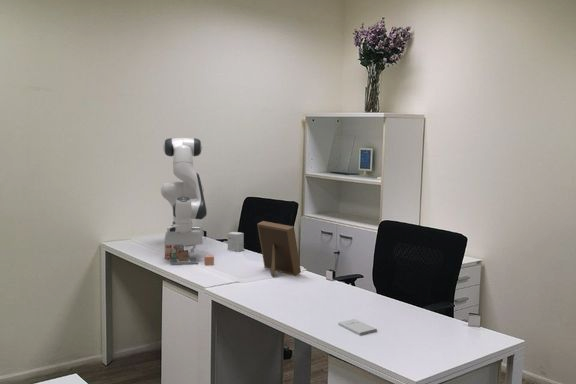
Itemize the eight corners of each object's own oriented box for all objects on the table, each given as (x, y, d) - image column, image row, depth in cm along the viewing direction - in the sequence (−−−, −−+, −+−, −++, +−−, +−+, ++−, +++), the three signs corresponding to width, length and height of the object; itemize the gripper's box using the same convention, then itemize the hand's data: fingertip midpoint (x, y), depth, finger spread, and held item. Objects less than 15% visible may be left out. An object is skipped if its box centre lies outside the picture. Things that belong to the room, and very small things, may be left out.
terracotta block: (204, 263, 298) (204, 255, 297) (212, 263, 299) (213, 255, 298) (205, 265, 293) (205, 257, 293) (213, 265, 295) (213, 256, 294)
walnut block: (178, 259, 302) (178, 250, 302) (188, 259, 304) (188, 250, 303) (179, 261, 298) (179, 252, 297) (188, 261, 299) (188, 252, 298)
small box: (243, 250, 332) (244, 233, 331) (238, 252, 327) (238, 234, 326) (233, 248, 336) (233, 231, 335) (227, 250, 331) (227, 232, 330)
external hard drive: (359, 337, 197) (338, 326, 208) (377, 332, 202) (355, 322, 212) (359, 332, 197) (338, 322, 207) (377, 328, 201) (355, 318, 212)
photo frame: (270, 266, 294) (270, 219, 291) (300, 274, 279) (301, 225, 276) (249, 271, 283) (249, 223, 280) (280, 279, 269) (281, 229, 266)
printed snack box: (173, 251, 326) (173, 230, 325) (184, 251, 326) (184, 230, 325) (164, 258, 305) (164, 236, 304) (176, 258, 304) (176, 236, 303)
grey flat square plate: (169, 259, 306) (169, 257, 306) (195, 258, 309) (195, 256, 309) (170, 265, 292) (170, 263, 292) (197, 264, 296) (197, 262, 296)
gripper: (202, 225, 304) (202, 250, 306) (164, 226, 299) (164, 251, 301) (203, 228, 298) (203, 253, 300) (164, 228, 293) (164, 254, 295)
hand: (183, 252), depth 301 cm, fingers open, 8 cm apart
